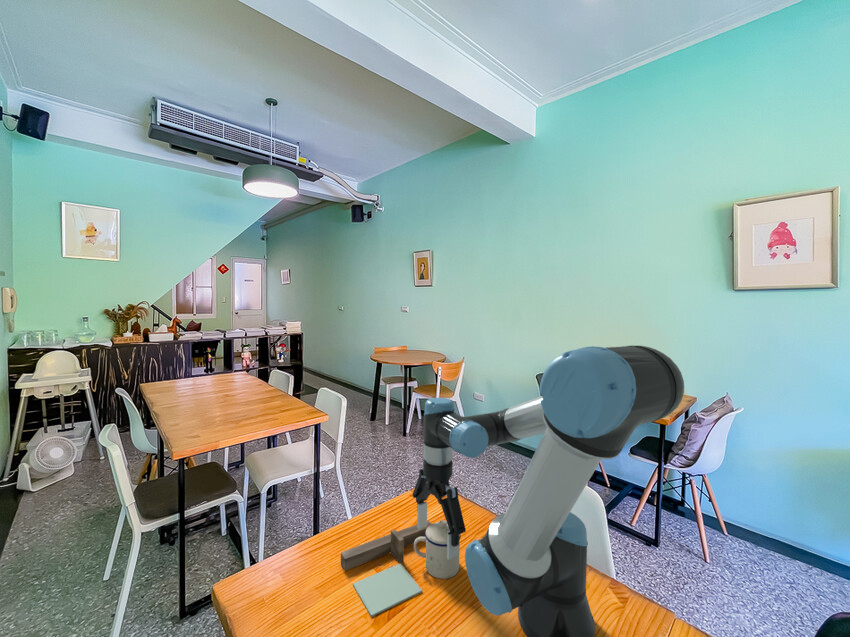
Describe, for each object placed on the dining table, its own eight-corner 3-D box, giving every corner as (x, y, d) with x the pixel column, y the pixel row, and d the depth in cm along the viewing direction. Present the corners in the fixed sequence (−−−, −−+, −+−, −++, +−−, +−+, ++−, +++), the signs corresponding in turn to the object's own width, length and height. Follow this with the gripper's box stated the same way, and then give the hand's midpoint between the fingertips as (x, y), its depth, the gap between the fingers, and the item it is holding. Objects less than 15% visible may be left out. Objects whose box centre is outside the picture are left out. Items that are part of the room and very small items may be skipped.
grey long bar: (443, 545, 99) (443, 523, 99) (352, 583, 84) (352, 558, 84) (427, 530, 106) (428, 510, 106) (340, 563, 91) (340, 540, 91)
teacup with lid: (459, 556, 94) (460, 513, 94) (460, 581, 85) (461, 534, 85) (415, 553, 95) (416, 510, 95) (411, 578, 86) (411, 530, 86)
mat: (422, 591, 82) (422, 590, 82) (371, 617, 75) (371, 615, 75) (400, 564, 91) (400, 563, 91) (352, 585, 84) (352, 583, 84)
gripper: (482, 475, 82) (479, 565, 82) (423, 441, 103) (422, 512, 103) (456, 483, 78) (454, 578, 78) (401, 445, 99) (399, 520, 99)
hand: (436, 541), depth 91 cm, fingers open, 13 cm apart
